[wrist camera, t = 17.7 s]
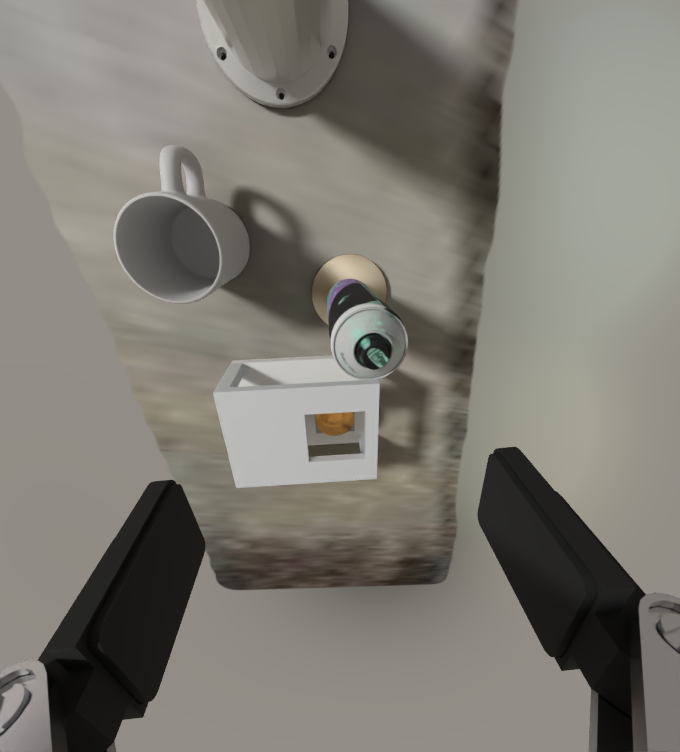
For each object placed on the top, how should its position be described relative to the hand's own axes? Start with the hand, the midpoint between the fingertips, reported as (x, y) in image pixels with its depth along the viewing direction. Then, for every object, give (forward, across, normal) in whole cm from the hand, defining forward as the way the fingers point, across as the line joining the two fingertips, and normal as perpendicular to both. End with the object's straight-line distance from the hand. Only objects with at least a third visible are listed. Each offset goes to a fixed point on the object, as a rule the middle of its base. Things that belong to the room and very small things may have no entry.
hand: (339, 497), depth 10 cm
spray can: (+31, -3, +2) cm, 31 cm away
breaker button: (+30, 0, +16) cm, 34 cm away
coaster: (+32, -3, +1) cm, 32 cm away
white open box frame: (+31, +4, +16) cm, 35 cm away
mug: (+32, +12, -7) cm, 35 cm away
